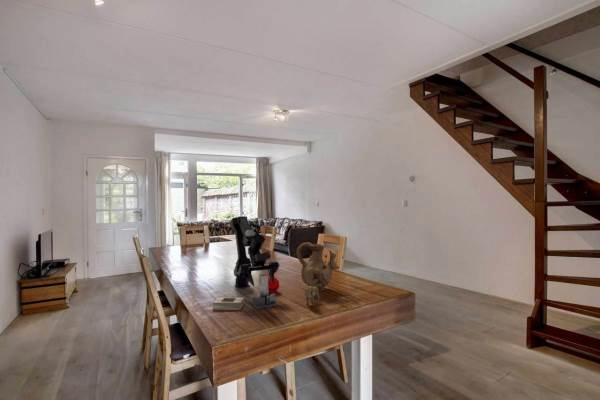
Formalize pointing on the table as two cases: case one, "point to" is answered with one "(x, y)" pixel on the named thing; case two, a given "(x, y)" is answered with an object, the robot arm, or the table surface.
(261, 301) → the V-block
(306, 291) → the lion figurine
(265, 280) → the axle
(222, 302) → the block with rectangular hole
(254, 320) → the table surface
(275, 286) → the ball
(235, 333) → the table surface
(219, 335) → the table surface
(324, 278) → the ceramic vessel
